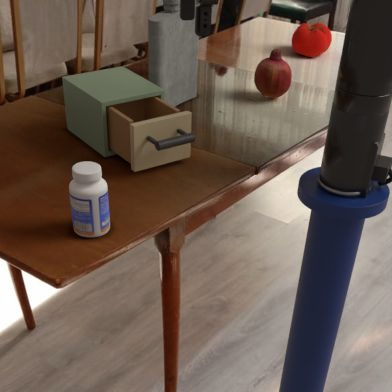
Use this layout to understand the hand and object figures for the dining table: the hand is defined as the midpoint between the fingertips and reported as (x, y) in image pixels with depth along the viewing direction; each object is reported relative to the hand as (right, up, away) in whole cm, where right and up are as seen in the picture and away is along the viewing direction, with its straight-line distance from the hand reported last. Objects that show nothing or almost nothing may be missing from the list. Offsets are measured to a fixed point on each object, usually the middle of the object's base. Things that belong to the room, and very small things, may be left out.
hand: (194, 27), depth 93 cm
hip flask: (-5, +3, +38) cm, 38 cm away
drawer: (-8, -14, +17) cm, 23 cm away
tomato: (+29, +28, +68) cm, 79 cm away
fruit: (+16, +6, +43) cm, 46 cm away
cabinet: (-15, -8, +24) cm, 30 cm away
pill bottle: (-15, -30, -1) cm, 34 cm away
